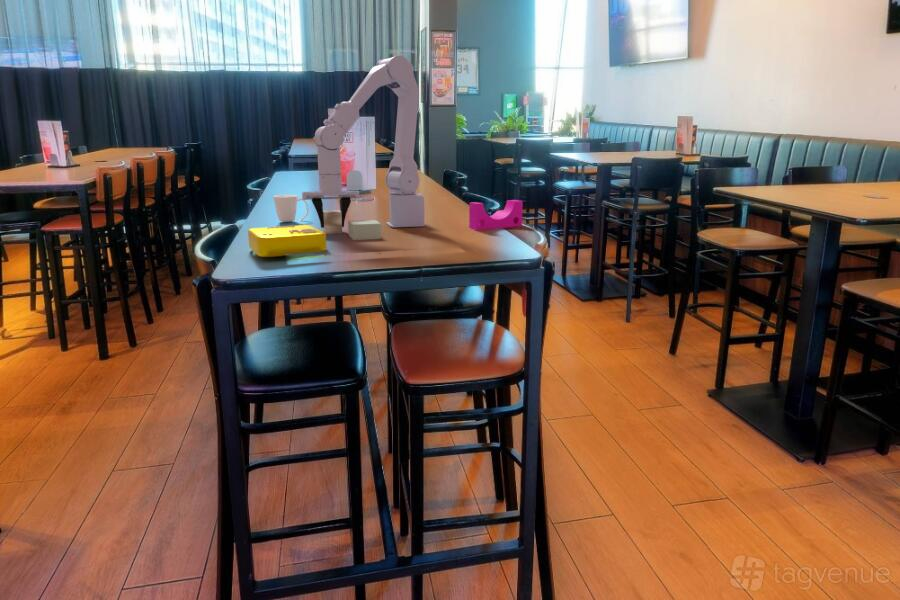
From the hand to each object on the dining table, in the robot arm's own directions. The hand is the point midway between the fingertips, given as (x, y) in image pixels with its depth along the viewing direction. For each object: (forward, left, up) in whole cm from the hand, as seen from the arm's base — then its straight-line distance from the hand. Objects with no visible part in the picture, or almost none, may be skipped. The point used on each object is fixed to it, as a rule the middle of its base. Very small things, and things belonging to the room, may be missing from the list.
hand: (332, 226), depth 161 cm
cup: (+10, -19, -2) cm, 22 cm away
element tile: (+12, +21, -2) cm, 24 cm away
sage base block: (-7, +10, -2) cm, 12 cm away
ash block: (0, 0, -1) cm, 1 cm away
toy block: (-44, +3, -2) cm, 44 cm away
